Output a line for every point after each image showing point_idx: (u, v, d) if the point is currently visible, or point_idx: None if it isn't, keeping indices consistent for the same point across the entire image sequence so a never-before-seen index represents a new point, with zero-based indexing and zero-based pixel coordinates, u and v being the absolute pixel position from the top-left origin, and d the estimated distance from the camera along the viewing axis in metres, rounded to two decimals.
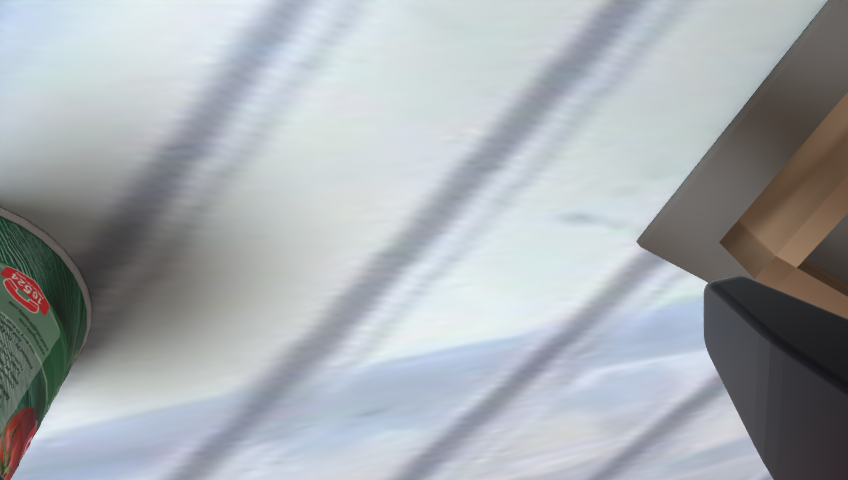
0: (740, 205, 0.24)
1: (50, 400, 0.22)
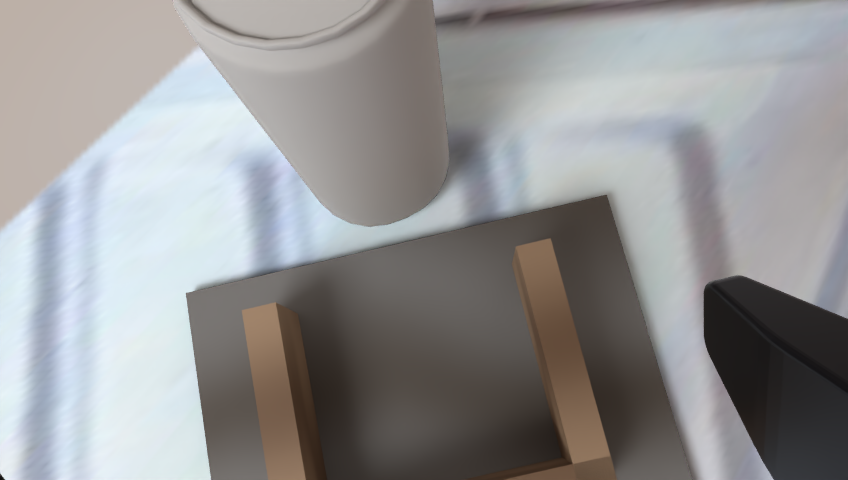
0: None
1: None
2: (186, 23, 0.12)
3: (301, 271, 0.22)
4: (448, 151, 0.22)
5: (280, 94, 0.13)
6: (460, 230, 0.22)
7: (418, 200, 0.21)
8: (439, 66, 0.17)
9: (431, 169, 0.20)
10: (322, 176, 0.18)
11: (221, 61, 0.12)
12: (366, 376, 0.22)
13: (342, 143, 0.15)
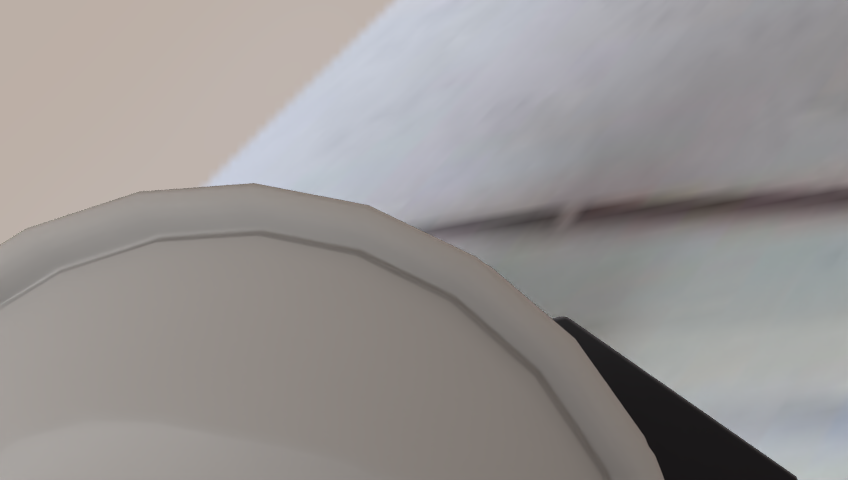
0: None
1: None
2: None
3: None
4: None
5: None
6: None
7: None
8: None
9: None
10: None
11: None
12: None
13: None
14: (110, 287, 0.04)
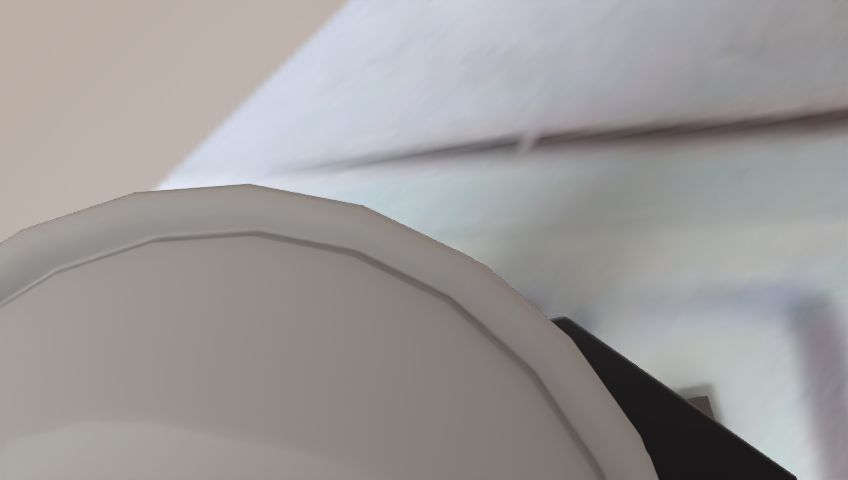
0: None
1: None
2: None
3: None
4: None
5: None
6: None
7: None
8: None
9: None
10: None
11: None
12: None
13: None
14: (107, 287, 0.04)
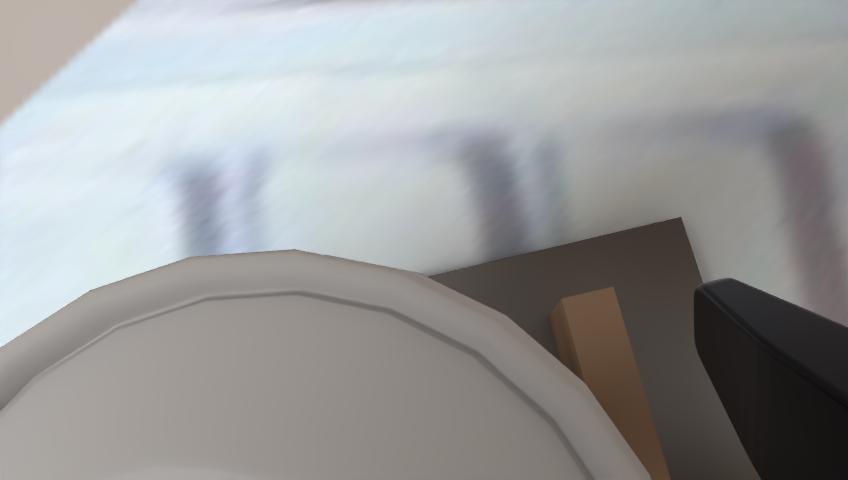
0: None
1: None
2: None
3: None
4: None
5: None
6: (475, 267, 0.16)
7: None
8: None
9: None
10: None
11: None
12: None
13: None
14: (167, 343, 0.04)
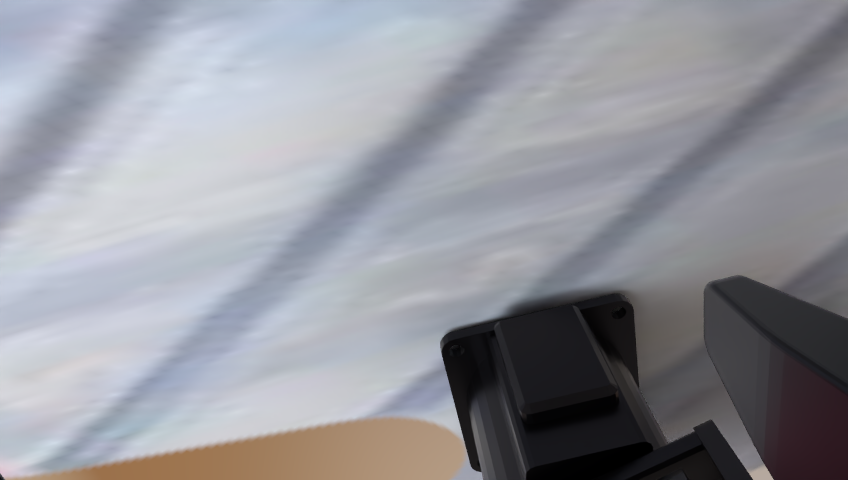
0: None
1: None
2: None
3: None
4: None
5: None
6: None
7: None
8: None
9: None
10: None
11: None
12: None
13: None
14: None
